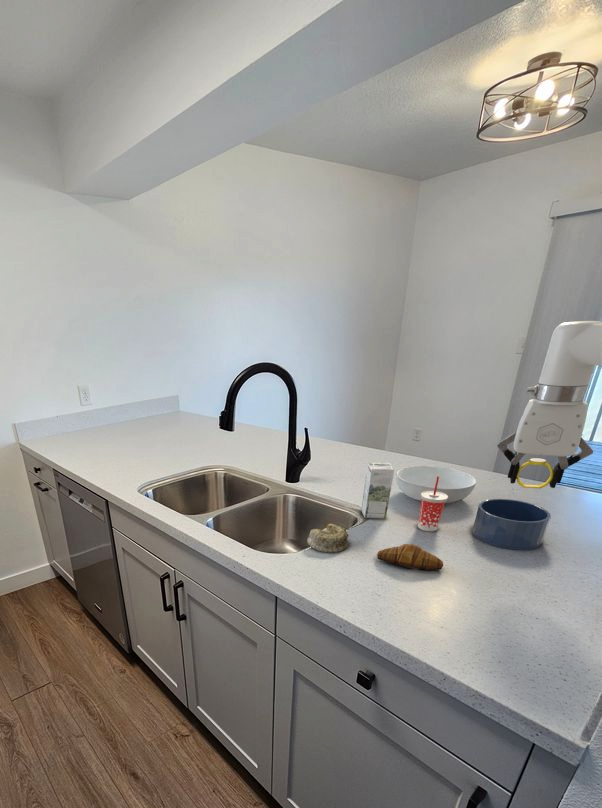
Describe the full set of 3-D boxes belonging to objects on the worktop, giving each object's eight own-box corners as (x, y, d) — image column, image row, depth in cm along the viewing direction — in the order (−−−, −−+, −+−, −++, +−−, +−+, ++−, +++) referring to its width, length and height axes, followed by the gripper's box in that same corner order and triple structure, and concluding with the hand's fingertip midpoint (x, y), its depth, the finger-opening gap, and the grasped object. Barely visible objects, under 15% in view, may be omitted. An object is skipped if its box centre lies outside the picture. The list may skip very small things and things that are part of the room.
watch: (548, 487, 90) (557, 459, 88) (548, 491, 88) (558, 463, 86) (513, 483, 93) (521, 456, 91) (513, 487, 91) (521, 460, 89)
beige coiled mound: (356, 545, 107) (360, 526, 105) (329, 559, 103) (333, 539, 100) (324, 529, 114) (327, 511, 112) (298, 541, 109) (300, 523, 107)
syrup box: (382, 511, 124) (389, 461, 117) (386, 519, 118) (394, 468, 112) (361, 510, 125) (367, 461, 118) (364, 519, 119) (371, 468, 113)
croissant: (442, 562, 97) (446, 543, 95) (442, 577, 92) (447, 557, 90) (377, 552, 103) (380, 533, 101) (374, 566, 97) (377, 546, 95)
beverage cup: (445, 531, 110) (457, 479, 104) (422, 533, 110) (433, 481, 104) (432, 521, 116) (443, 471, 110) (410, 523, 116) (419, 473, 109)
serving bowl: (470, 516, 117) (476, 492, 114) (388, 505, 127) (391, 482, 124) (471, 490, 133) (477, 469, 130) (398, 482, 143) (401, 462, 140)
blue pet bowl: (539, 530, 108) (548, 504, 105) (542, 555, 98) (552, 527, 95) (474, 519, 116) (480, 495, 112) (470, 541, 105) (477, 515, 102)
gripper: (505, 395, 84) (482, 483, 92) (624, 399, 75) (587, 495, 83) (505, 389, 89) (483, 473, 97) (615, 392, 81) (582, 483, 89)
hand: (531, 482), depth 90 cm, fingers closed on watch, 6 cm apart
